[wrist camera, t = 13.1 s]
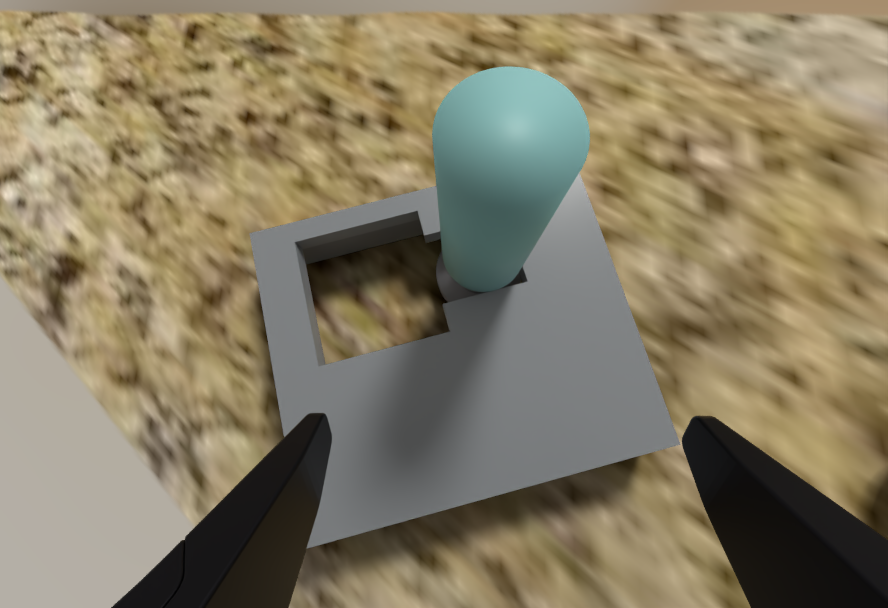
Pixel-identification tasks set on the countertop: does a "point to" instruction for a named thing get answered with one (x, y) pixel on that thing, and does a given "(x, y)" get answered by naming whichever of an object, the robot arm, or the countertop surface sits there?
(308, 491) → the robot arm
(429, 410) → the keyhole plate
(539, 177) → the peg
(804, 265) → the countertop surface
